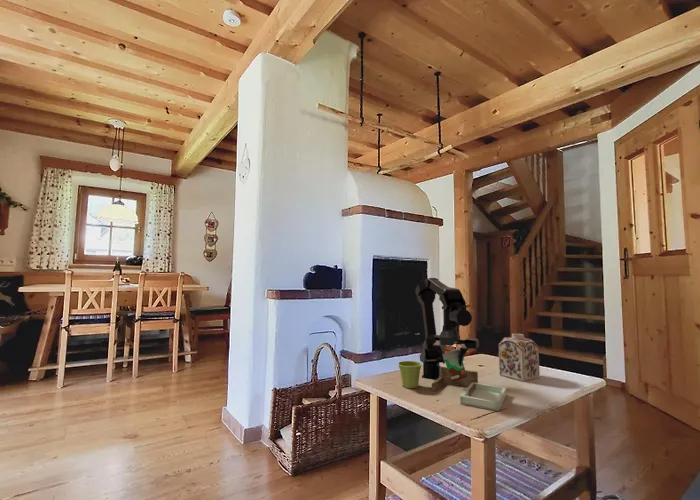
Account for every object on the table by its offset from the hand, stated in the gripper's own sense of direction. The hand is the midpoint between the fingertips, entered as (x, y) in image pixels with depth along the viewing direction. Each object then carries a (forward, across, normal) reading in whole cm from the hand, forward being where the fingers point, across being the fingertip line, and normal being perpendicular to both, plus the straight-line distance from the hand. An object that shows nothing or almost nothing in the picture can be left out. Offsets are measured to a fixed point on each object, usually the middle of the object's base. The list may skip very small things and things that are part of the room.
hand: (452, 364), depth 129 cm
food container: (+5, +3, +2) cm, 6 cm away
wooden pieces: (+10, 0, +3) cm, 11 cm away
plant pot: (+10, -16, -2) cm, 19 cm away
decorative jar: (+10, +19, +35) cm, 41 cm away
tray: (+10, +12, -2) cm, 15 cm away
